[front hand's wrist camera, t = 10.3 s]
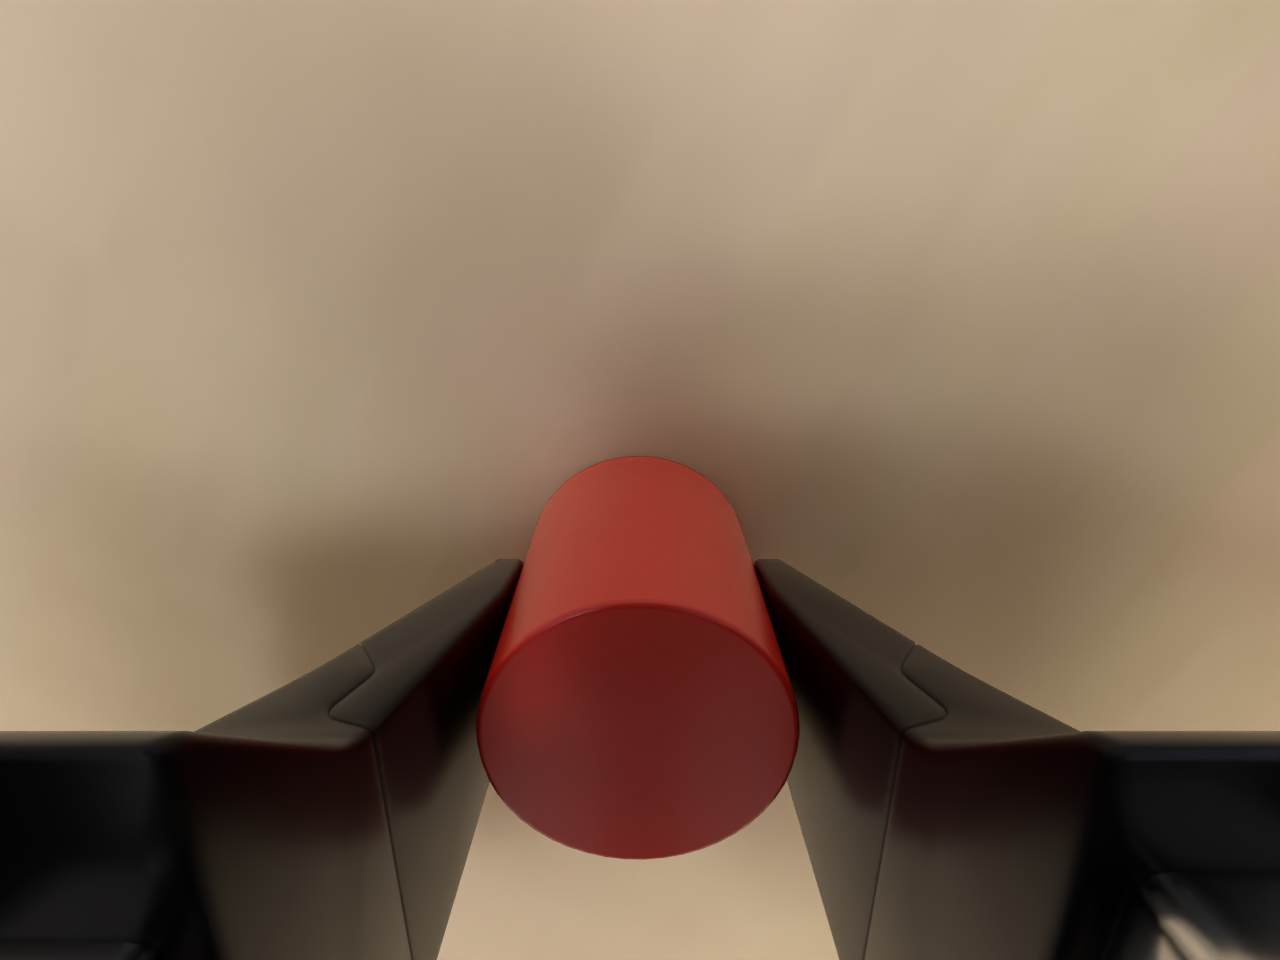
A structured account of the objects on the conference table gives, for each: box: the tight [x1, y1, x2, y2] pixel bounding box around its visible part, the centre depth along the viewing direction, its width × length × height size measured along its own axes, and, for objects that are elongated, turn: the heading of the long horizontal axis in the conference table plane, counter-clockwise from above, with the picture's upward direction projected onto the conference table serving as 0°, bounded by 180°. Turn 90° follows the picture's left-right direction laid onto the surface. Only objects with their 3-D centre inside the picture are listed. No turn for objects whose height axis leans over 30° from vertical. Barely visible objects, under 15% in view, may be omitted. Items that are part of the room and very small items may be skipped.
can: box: [476, 457, 800, 859], centre depth 10 cm, size 4×4×5 cm
